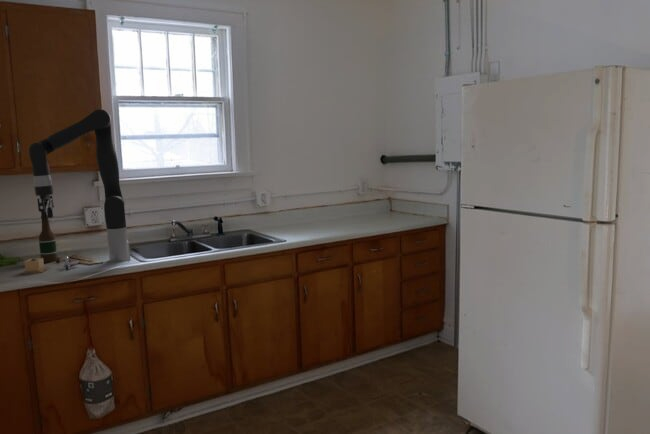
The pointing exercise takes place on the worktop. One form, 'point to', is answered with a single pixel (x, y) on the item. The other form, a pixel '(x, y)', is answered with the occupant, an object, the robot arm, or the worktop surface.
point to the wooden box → (36, 271)
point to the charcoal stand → (67, 265)
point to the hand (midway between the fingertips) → (47, 218)
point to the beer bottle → (47, 243)
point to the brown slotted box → (34, 265)
